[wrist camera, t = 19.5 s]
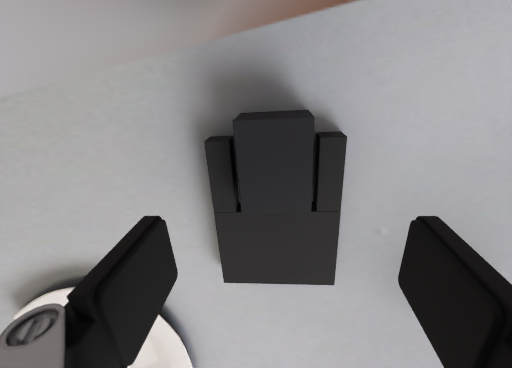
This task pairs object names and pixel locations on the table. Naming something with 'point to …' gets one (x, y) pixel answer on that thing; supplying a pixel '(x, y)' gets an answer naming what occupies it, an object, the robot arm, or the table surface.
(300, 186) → the black rectangular block
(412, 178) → the table surface
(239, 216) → the socket pad
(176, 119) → the table surface
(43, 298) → the plate
